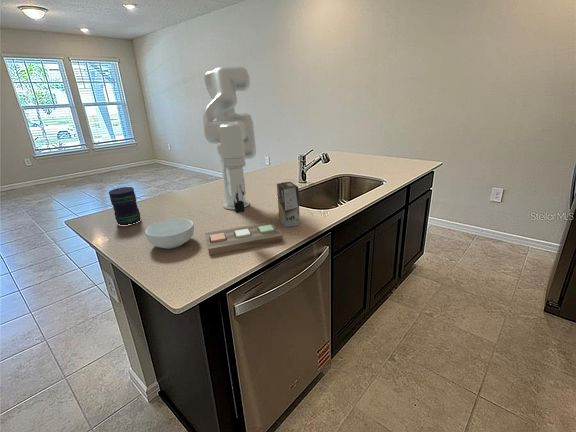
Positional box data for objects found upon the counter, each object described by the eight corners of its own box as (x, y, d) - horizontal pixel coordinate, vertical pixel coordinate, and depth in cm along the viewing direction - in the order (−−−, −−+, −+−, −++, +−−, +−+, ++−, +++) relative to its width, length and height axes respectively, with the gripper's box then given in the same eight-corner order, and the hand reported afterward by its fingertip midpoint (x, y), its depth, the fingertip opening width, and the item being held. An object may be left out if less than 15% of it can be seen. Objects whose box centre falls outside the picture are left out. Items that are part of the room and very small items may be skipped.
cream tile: (235, 238, 117) (234, 230, 116) (248, 235, 118) (247, 228, 117) (237, 243, 113) (236, 236, 111) (251, 241, 114) (250, 233, 113)
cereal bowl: (205, 241, 116) (202, 224, 114) (163, 259, 105) (159, 240, 102) (181, 230, 127) (178, 214, 124) (141, 245, 116) (136, 228, 113)
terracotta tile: (211, 242, 115) (209, 235, 113) (224, 240, 116) (223, 232, 115) (212, 248, 110) (211, 240, 109) (226, 245, 111) (225, 238, 110)
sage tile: (258, 233, 119) (258, 226, 118) (271, 231, 121) (270, 224, 120) (261, 239, 115) (261, 231, 114) (274, 236, 116) (274, 229, 115)
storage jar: (146, 220, 140) (138, 188, 134) (126, 228, 132) (117, 195, 126) (132, 216, 145) (124, 186, 139) (112, 224, 137) (103, 192, 131)
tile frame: (206, 238, 118) (205, 232, 117) (271, 227, 125) (271, 221, 124) (209, 255, 106) (208, 249, 105) (282, 241, 113) (281, 235, 112)
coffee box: (300, 224, 126) (299, 186, 120) (285, 227, 124) (283, 189, 118) (292, 217, 134) (290, 181, 128) (278, 219, 132) (275, 183, 126)
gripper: (220, 158, 110) (226, 206, 118) (225, 168, 97) (232, 221, 105) (241, 155, 112) (246, 203, 120) (249, 165, 99) (254, 217, 107)
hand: (239, 211), depth 112 cm, fingers closed
